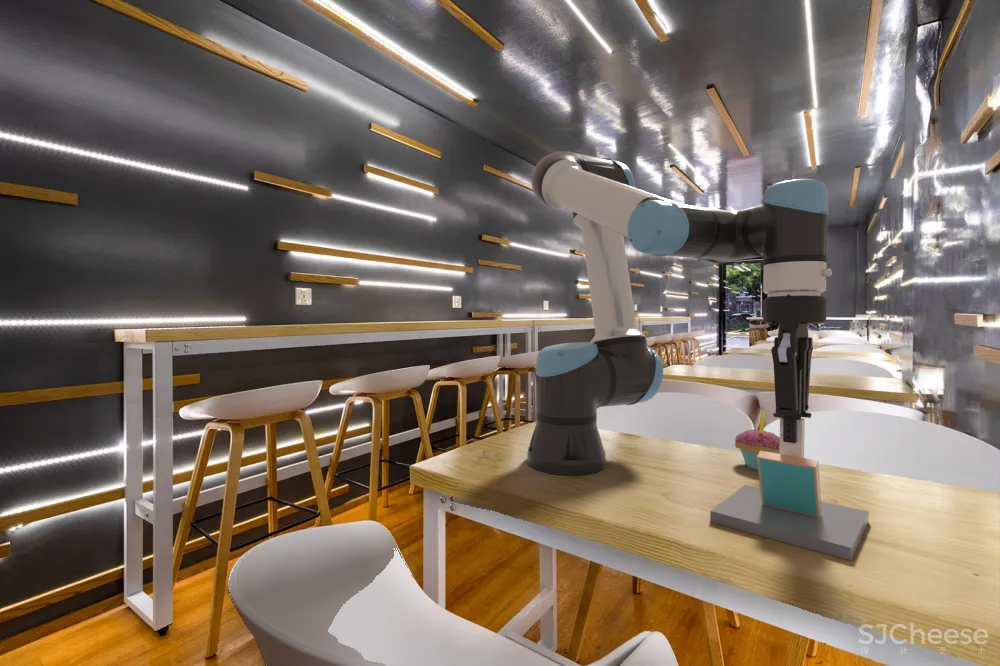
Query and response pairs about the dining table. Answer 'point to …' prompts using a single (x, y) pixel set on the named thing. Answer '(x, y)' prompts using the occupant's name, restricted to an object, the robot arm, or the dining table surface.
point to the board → (794, 523)
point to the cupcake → (757, 443)
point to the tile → (790, 483)
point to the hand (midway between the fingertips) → (791, 464)
